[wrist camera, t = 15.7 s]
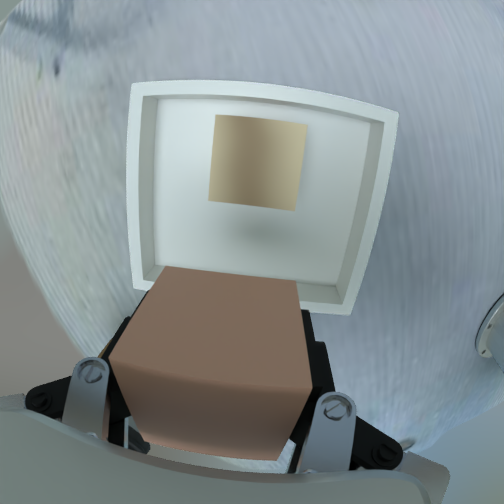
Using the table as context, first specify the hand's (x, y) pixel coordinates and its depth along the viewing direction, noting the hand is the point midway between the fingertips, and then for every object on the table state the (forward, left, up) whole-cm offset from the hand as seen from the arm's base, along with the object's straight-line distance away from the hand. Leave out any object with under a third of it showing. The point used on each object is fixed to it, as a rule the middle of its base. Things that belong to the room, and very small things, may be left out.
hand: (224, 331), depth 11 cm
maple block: (0, -6, -12) cm, 13 cm away
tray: (0, -3, -13) cm, 13 cm away
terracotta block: (0, 0, 0) cm, 0 cm away
